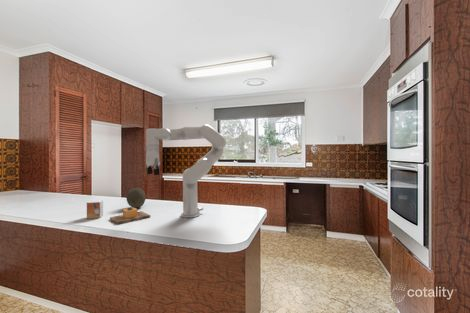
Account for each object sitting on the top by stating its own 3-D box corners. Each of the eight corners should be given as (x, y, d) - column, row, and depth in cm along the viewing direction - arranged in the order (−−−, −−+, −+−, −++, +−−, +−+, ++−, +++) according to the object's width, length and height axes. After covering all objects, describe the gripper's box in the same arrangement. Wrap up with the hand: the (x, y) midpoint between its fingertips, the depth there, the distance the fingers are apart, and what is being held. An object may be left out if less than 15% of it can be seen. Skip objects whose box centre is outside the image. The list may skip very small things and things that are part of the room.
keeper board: (141, 213, 155) (141, 203, 155) (150, 217, 145) (150, 206, 145) (109, 219, 141) (109, 208, 141) (117, 224, 131) (117, 212, 131)
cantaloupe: (150, 206, 174) (149, 187, 173) (133, 211, 162) (133, 190, 161) (138, 204, 181) (138, 186, 181) (122, 208, 169) (121, 188, 169)
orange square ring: (133, 214, 148) (133, 207, 148) (137, 216, 143) (137, 209, 143) (123, 216, 143) (122, 209, 143) (126, 218, 139) (126, 211, 138)
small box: (86, 218, 143) (86, 202, 143) (90, 216, 149) (90, 200, 148) (100, 218, 145) (99, 202, 145) (103, 215, 150) (103, 200, 150)
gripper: (141, 148, 147) (141, 174, 147) (153, 147, 134) (153, 175, 135) (152, 148, 152) (152, 173, 152) (164, 147, 140) (165, 174, 140)
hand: (153, 174), depth 144 cm, fingers open, 9 cm apart
